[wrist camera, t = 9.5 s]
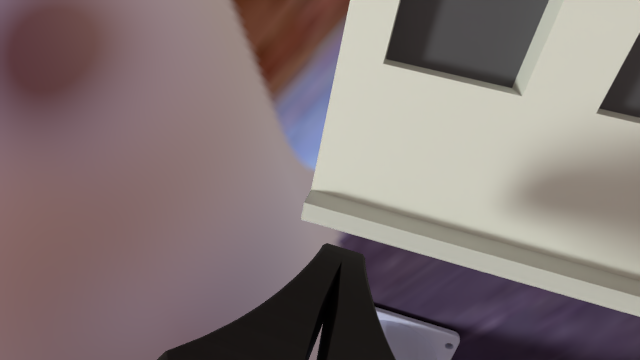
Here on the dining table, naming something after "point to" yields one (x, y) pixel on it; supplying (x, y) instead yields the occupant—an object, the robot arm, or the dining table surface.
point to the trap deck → (491, 139)
